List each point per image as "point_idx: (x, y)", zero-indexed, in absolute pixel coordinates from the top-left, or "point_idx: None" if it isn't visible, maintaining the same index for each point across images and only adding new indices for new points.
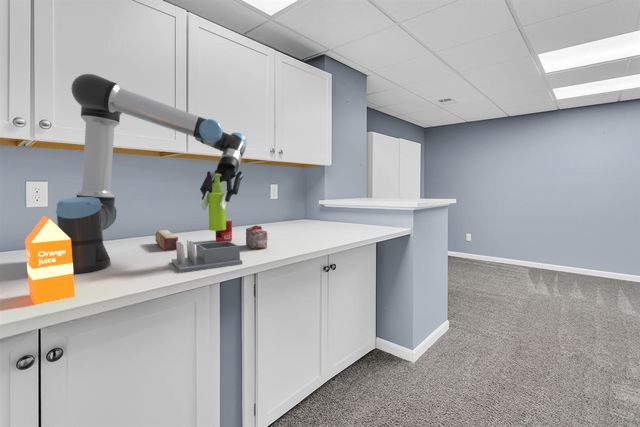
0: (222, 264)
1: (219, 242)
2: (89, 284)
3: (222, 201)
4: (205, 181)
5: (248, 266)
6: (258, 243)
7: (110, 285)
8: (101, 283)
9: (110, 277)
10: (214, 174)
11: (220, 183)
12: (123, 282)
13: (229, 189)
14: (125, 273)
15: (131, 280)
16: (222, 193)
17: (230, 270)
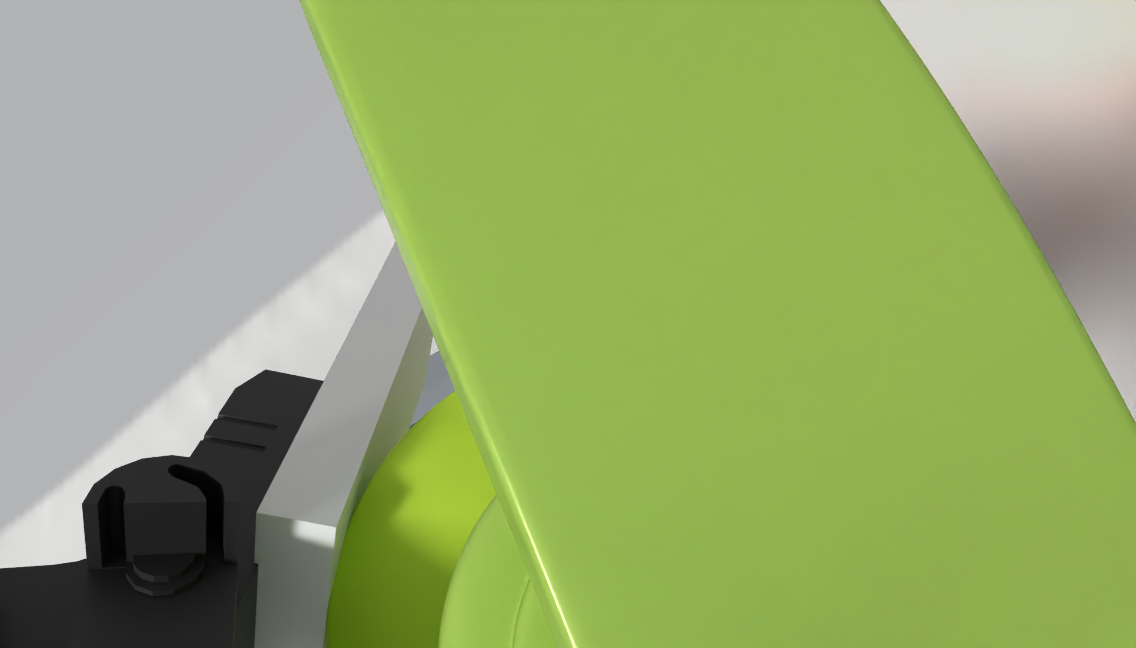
0: (432, 356)
1: None
2: (1130, 39)
3: (387, 279)
4: None
5: (203, 360)
6: None
7: (1004, 6)
8: (1079, 48)
9: (1113, 163)
10: (1114, 481)
11: (491, 537)
12: (968, 51)
13: (111, 485)
14: (1082, 246)
15: (946, 84)
16: (405, 453)
17: (347, 248)
